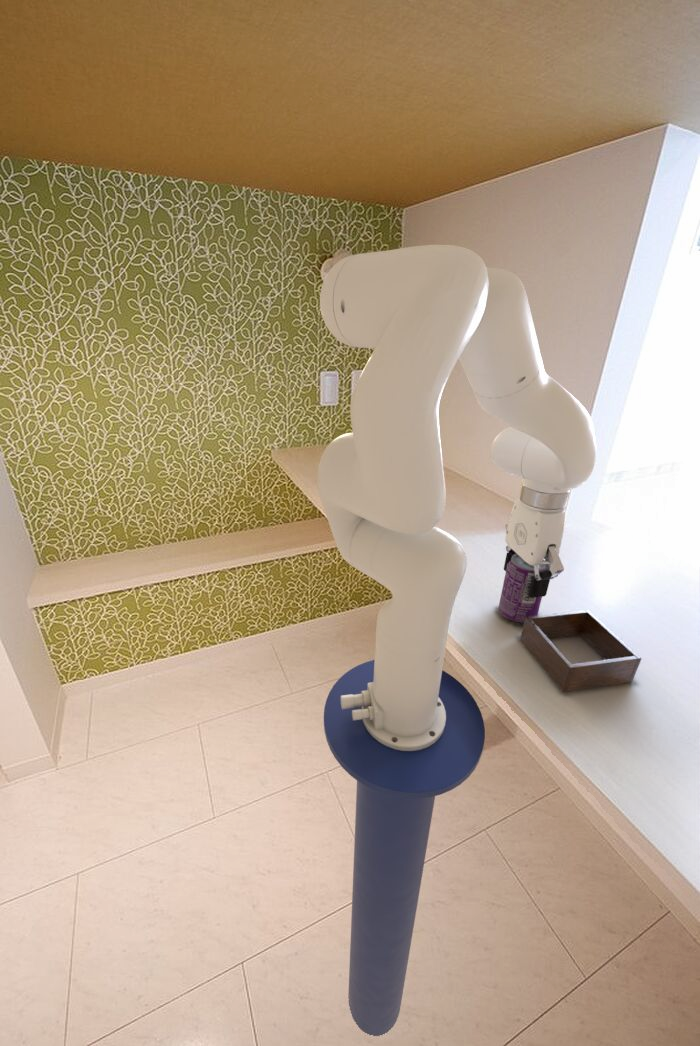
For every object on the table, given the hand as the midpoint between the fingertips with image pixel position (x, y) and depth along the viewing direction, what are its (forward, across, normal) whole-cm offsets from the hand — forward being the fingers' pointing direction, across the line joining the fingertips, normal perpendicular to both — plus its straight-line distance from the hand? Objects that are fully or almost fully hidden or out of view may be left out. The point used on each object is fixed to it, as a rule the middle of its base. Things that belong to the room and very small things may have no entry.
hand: (523, 582), depth 81 cm
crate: (+7, +13, +3) cm, 15 cm away
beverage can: (+8, 0, 0) cm, 8 cm away
